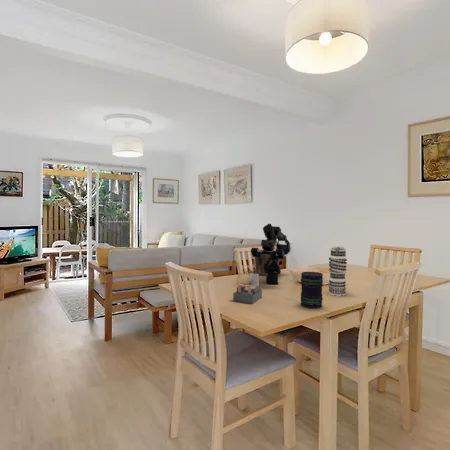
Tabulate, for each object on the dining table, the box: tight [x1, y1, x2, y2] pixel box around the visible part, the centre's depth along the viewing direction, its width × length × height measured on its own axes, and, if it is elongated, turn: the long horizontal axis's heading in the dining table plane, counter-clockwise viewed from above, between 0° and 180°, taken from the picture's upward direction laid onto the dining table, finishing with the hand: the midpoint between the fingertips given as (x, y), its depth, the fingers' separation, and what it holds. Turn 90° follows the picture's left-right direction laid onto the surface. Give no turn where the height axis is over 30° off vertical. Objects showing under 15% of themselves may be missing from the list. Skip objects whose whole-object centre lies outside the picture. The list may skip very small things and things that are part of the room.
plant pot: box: [254, 249, 276, 277], centre depth 227 cm, size 16×16×16 cm
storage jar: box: [300, 271, 324, 309], centre depth 153 cm, size 10×10×15 cm
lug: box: [237, 283, 251, 294], centre depth 159 cm, size 1×6×4 cm, turn 64°
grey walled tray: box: [232, 283, 263, 305], centre depth 163 cm, size 13×10×6 cm
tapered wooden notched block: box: [244, 272, 260, 291], centre depth 166 cm, size 10×4×7 cm, turn 154°
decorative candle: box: [328, 246, 348, 297], centre depth 174 cm, size 9×9×25 cm
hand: (263, 265), depth 183 cm, fingers open, 5 cm apart
